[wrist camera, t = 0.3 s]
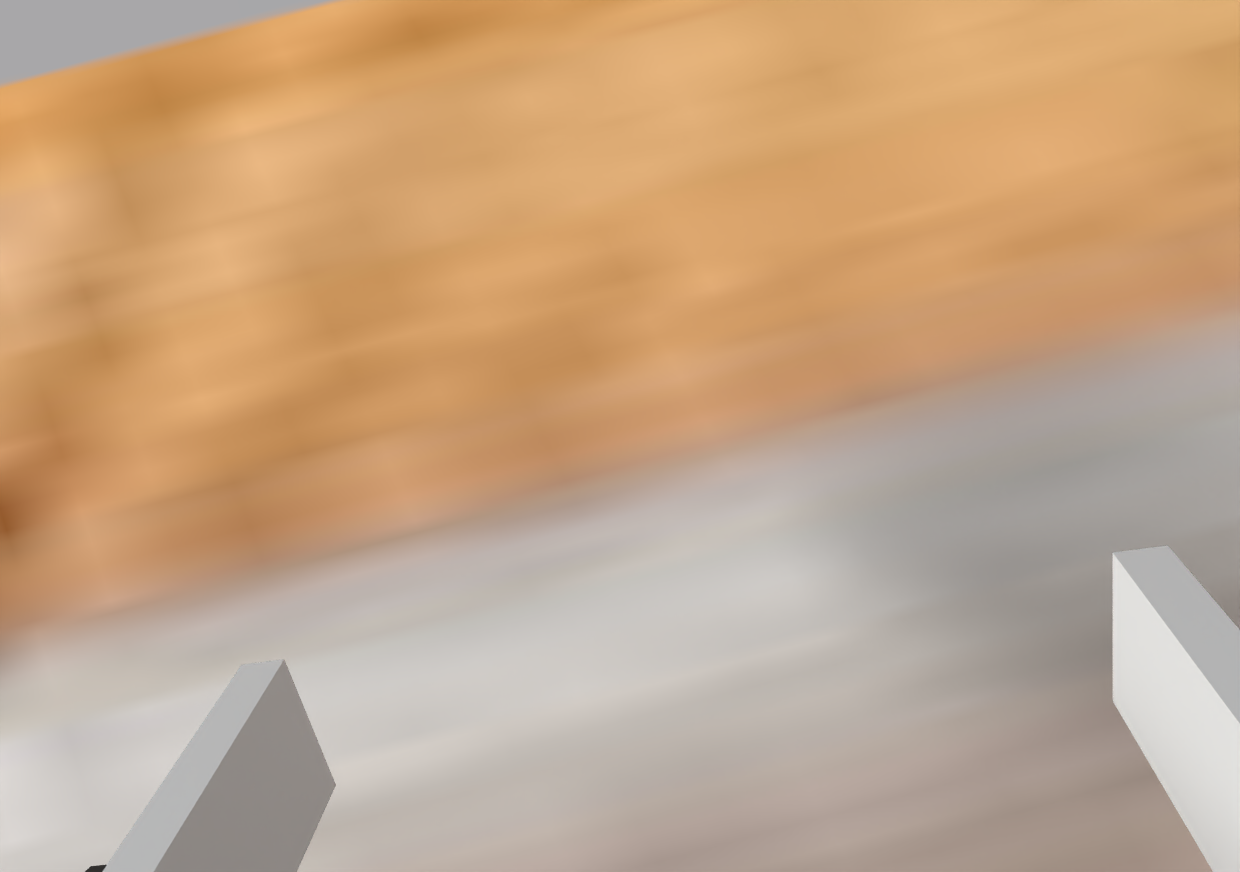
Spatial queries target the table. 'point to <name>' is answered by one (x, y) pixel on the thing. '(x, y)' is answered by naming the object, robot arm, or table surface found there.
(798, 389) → the table surface
